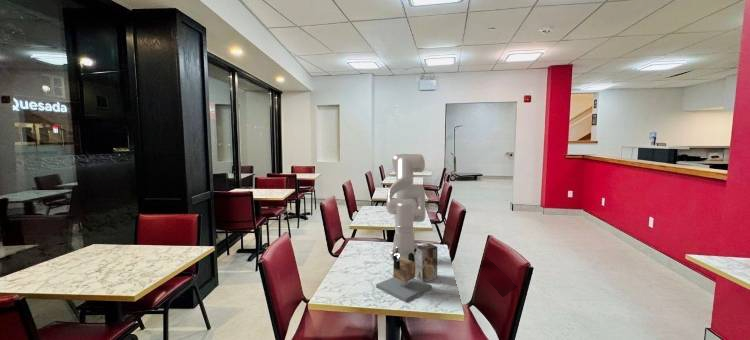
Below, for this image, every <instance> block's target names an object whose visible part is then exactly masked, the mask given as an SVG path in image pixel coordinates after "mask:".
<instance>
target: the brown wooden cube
mask: <svg viewBox="0 0 750 340" xmlns="http://www.w3.org/2000/svg"><path fill="white" fill-rule="evenodd" d="M399 261H400V270H397V269H395V268H394V266H393V269H392V270H393V272H392V273H393V276H392V278H393V277H395V278H397V279H399V280H401V281H403V282H406V281H409V280H411V279H413V278H415V261H414V262H413V261H410V260H408V259H405V258H403V259H400V260H399ZM415 279H416V278H415Z"/></svg>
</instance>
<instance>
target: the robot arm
mask: <svg viewBox="0 0 750 340" xmlns="http://www.w3.org/2000/svg"><path fill="white" fill-rule="evenodd" d="M391 160H392V161H391V163H392V167H393V168H392V169H393V170H394V174H395V175H396V176H395V177H396V178H395V179H396V180H395V182H393V183H392V184H391V186H390V187H389V188H388V190H387V193H386V212H387V213H389V214H390V215H393V216H394V224H395V225H394V227H395V228H394V229H395V232H394V236H393V243H392V250H391V251H390V252H389V254H390V256H391V259H392V260H393V267H394V268H395V269H397V270H400V261H399V260H400V259H403V258H405V259H408V260H410V261H413V262H415V252H416V251H417V246H418V243H415V242H416V241H415V235H414V233H415V232H414V223H422V222H424V221H425V220H426V191H425V188H424V186H422V185H414V173H423V172H424V170H425V168H426V167H425V166H426V162H425V158H424V156H423V155H422V154H419V153H418V154H417V153H396V154H394V155H393V156H392V159H391ZM395 194H396V198H395V197H394V195H395Z"/></svg>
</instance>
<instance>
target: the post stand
mask: <svg viewBox="0 0 750 340" xmlns="http://www.w3.org/2000/svg"><path fill="white" fill-rule="evenodd" d="M375 288H377V289H378V290H380V291H382V292H384V293H386V294H388V295H390V296H392V297H394V298H397V299H398V300H400V301H402V302H404V303H406V302H409V301H411V300H412V299H414V298H417V297H419V296H420V295H421V296H422V295H423V294H425V293H427V292H428V291H431V290H432V289H433V285H432V284H430V283H427V282H426V281H425V282H422V281H420V280H418V279H417V278H413V279H411V280H409V281H406V282H403V281H401V280H399V279H397V278H395V277H393V276H392V277H390V278H389V279H388V278H387V279H385V280H383V281H380V282H378V283H376V284H375Z"/></svg>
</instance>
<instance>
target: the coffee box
mask: <svg viewBox="0 0 750 340" xmlns="http://www.w3.org/2000/svg"><path fill="white" fill-rule="evenodd" d="M414 258H415V260H414V262H415V279H418V280H420V281H422V282H425V283H426V282H428V281H433V280H437V279H438V246H437V245H434V244H432V243H425V244H419V245H418V246H417V251H416V252H415V256H414Z"/></svg>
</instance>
